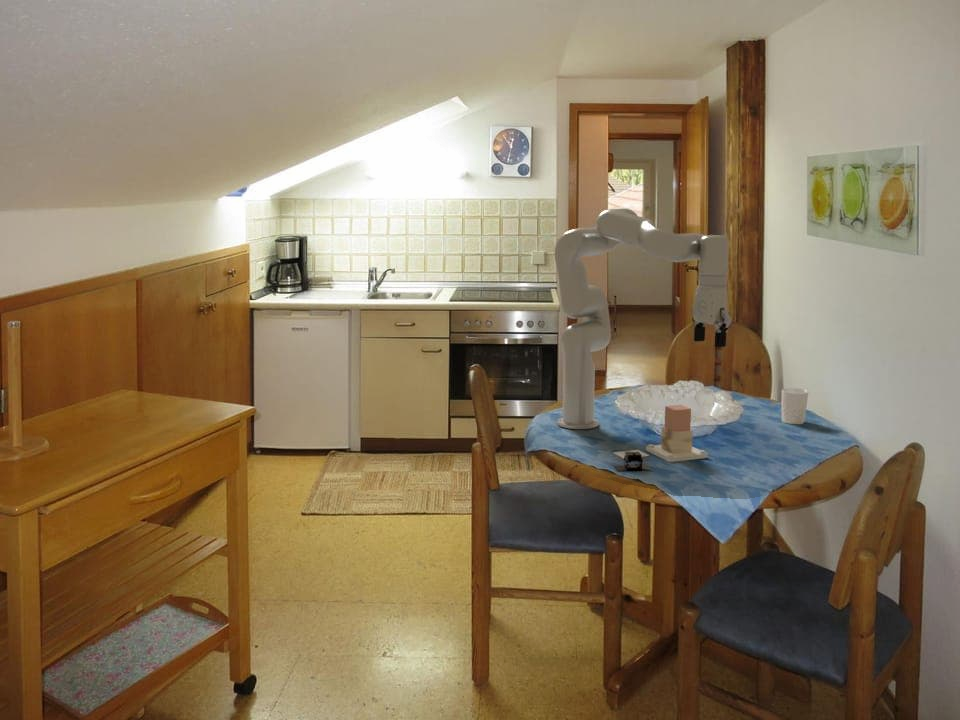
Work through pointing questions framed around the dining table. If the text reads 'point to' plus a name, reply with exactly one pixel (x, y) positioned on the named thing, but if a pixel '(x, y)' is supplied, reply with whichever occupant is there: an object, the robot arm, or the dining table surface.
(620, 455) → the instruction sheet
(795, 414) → the white cup
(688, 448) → the beech brick
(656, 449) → the plate
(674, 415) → the terracotta brick
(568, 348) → the robot arm
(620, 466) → the dark stepped block
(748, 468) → the dining table surface
